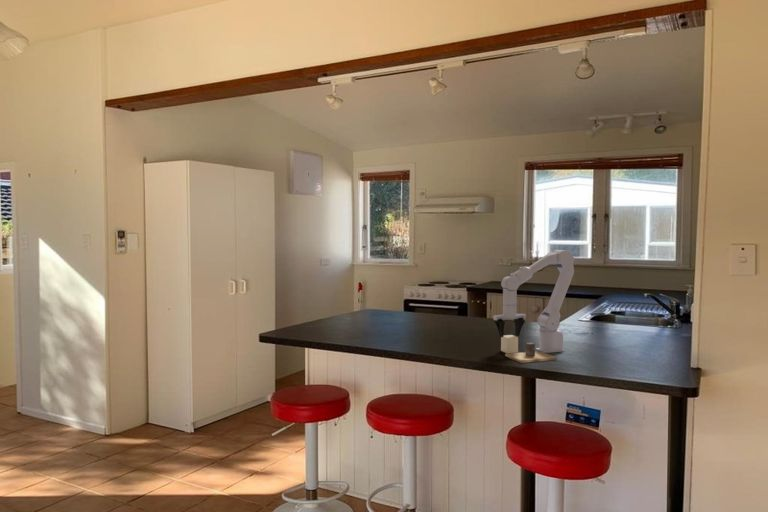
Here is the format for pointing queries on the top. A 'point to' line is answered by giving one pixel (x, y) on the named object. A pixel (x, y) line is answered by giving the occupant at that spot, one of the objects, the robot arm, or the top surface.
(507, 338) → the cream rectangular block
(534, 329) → the top surface
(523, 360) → the post board
